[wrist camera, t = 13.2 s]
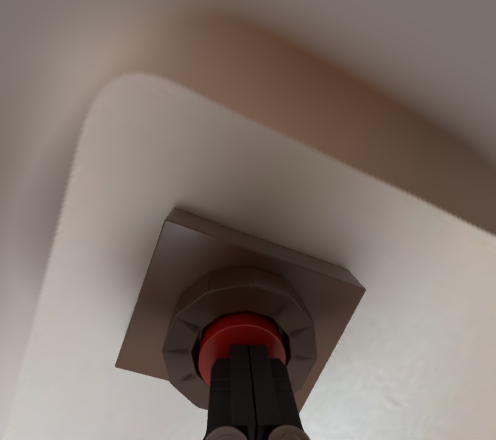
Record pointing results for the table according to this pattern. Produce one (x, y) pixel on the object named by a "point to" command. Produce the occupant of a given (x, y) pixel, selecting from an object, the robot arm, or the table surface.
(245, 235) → the control block
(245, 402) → the robot arm
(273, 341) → the button
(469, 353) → the table surface
